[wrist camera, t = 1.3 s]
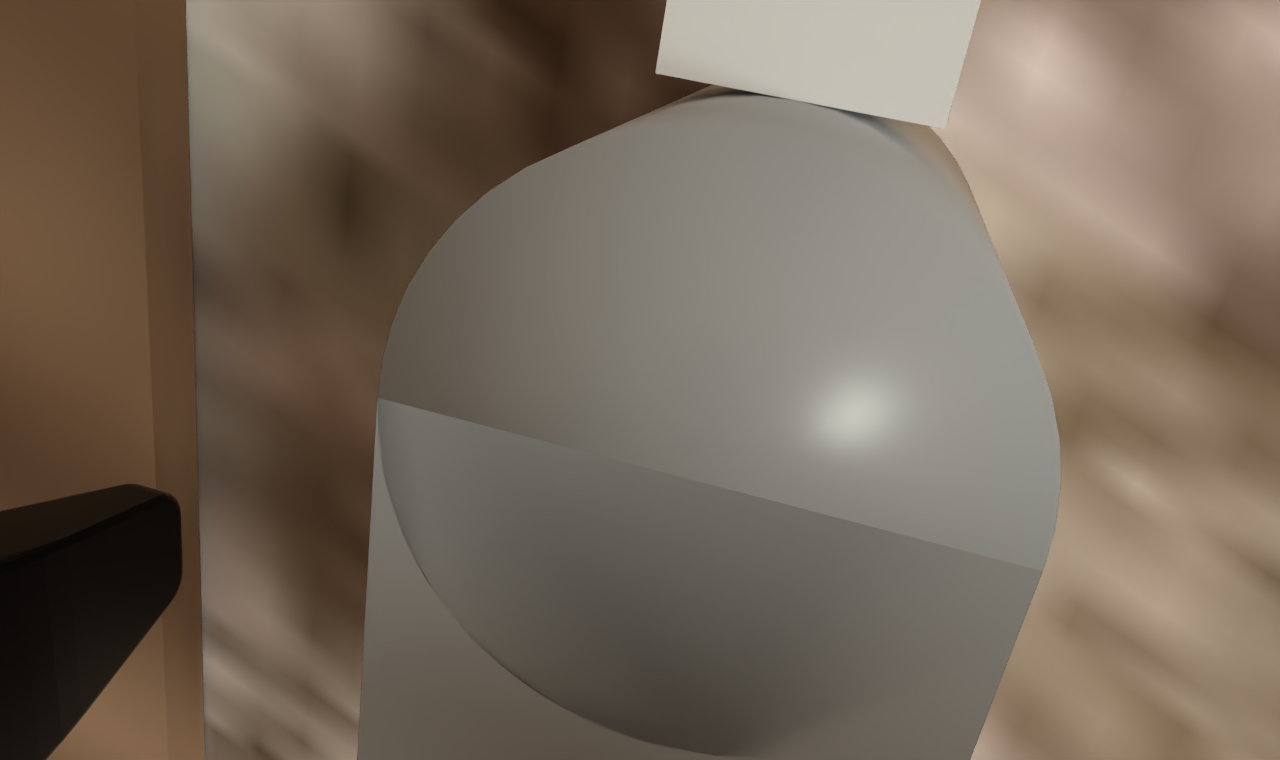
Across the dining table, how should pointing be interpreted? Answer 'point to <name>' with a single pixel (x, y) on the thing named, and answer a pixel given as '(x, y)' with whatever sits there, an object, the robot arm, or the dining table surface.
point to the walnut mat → (104, 314)
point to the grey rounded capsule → (716, 424)
